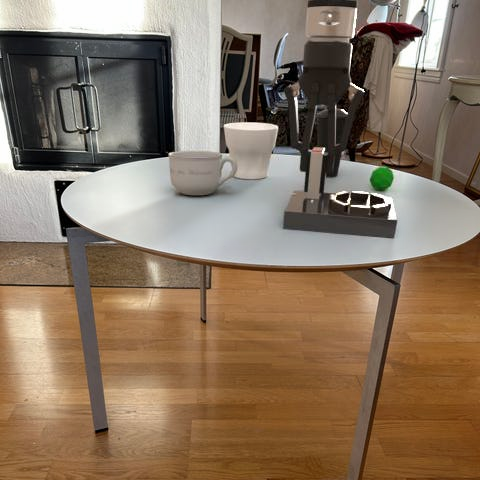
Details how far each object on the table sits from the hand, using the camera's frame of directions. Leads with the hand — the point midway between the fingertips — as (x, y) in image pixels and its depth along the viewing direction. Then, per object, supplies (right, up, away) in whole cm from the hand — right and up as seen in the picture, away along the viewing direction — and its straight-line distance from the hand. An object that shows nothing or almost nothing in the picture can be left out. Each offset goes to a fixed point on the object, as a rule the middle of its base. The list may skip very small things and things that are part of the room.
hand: (314, 190), depth 87 cm
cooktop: (+4, -6, -2) cm, 8 cm away
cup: (-11, +11, +27) cm, 31 cm away
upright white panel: (0, -1, 0) cm, 1 cm away
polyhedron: (+17, +5, +18) cm, 25 cm away
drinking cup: (+8, +11, +29) cm, 32 cm away
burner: (+7, -5, -6) cm, 10 cm away
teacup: (-21, +2, +12) cm, 24 cm away
